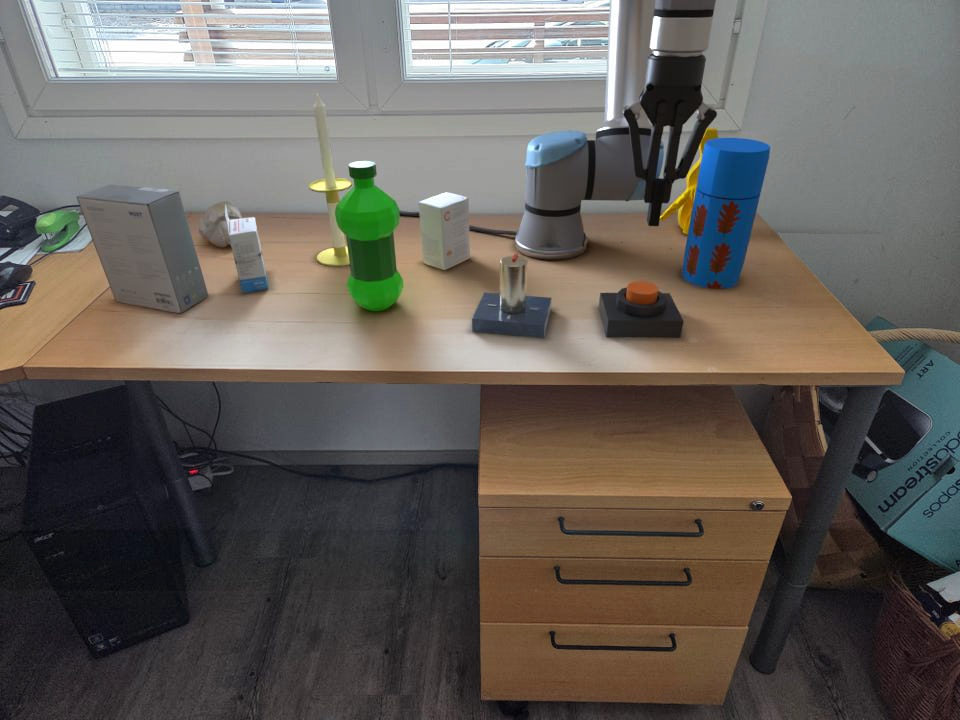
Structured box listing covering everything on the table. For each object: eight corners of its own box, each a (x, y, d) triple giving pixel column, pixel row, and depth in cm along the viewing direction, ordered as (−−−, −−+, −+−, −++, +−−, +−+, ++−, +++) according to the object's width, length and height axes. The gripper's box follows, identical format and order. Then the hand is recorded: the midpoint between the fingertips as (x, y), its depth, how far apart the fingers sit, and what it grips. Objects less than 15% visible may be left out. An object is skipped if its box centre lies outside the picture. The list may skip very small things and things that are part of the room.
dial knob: (523, 314, 102) (525, 265, 97) (497, 312, 102) (497, 263, 98) (527, 302, 105) (529, 254, 101) (502, 300, 106) (503, 252, 101)
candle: (306, 262, 127) (277, 93, 110) (334, 245, 135) (310, 85, 117) (348, 269, 124) (324, 97, 106) (373, 251, 132) (355, 88, 114)
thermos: (743, 291, 114) (776, 153, 100) (683, 287, 115) (708, 151, 102) (734, 268, 123) (764, 138, 109) (679, 264, 124) (702, 136, 111)
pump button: (628, 305, 100) (630, 294, 99) (623, 291, 104) (625, 280, 103) (659, 305, 99) (661, 294, 98) (653, 291, 104) (655, 280, 103)
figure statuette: (658, 236, 137) (673, 134, 126) (652, 224, 144) (666, 126, 132) (739, 237, 136) (762, 134, 124) (729, 225, 143) (751, 126, 131)
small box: (448, 251, 131) (446, 191, 124) (470, 258, 128) (469, 197, 121) (421, 263, 126) (417, 201, 119) (444, 271, 123) (441, 207, 116)
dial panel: (472, 331, 102) (471, 317, 101) (484, 304, 110) (484, 291, 109) (543, 338, 100) (544, 324, 99) (550, 310, 108) (551, 296, 107)
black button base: (606, 337, 100) (609, 310, 97) (598, 308, 109) (601, 283, 106) (680, 338, 100) (685, 310, 97) (666, 309, 108) (671, 283, 105)
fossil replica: (223, 256, 131) (261, 244, 138) (219, 218, 127) (258, 208, 134) (187, 240, 136) (225, 230, 143) (181, 203, 132) (221, 195, 139)
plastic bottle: (360, 323, 105) (340, 176, 92) (342, 298, 113) (322, 160, 99) (414, 310, 109) (403, 167, 95) (393, 287, 117) (380, 152, 103)
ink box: (269, 290, 116) (253, 214, 108) (242, 294, 115) (223, 218, 107) (266, 272, 123) (251, 200, 115) (240, 276, 122) (223, 203, 114)
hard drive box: (210, 296, 114) (181, 190, 103) (181, 315, 108) (147, 204, 97) (145, 285, 119) (110, 182, 108) (113, 302, 113) (73, 195, 102)
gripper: (722, 50, 84) (692, 216, 97) (625, 49, 86) (608, 213, 98) (734, 56, 78) (700, 233, 91) (630, 55, 79) (611, 230, 92)
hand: (652, 223), depth 94 cm, fingers closed
